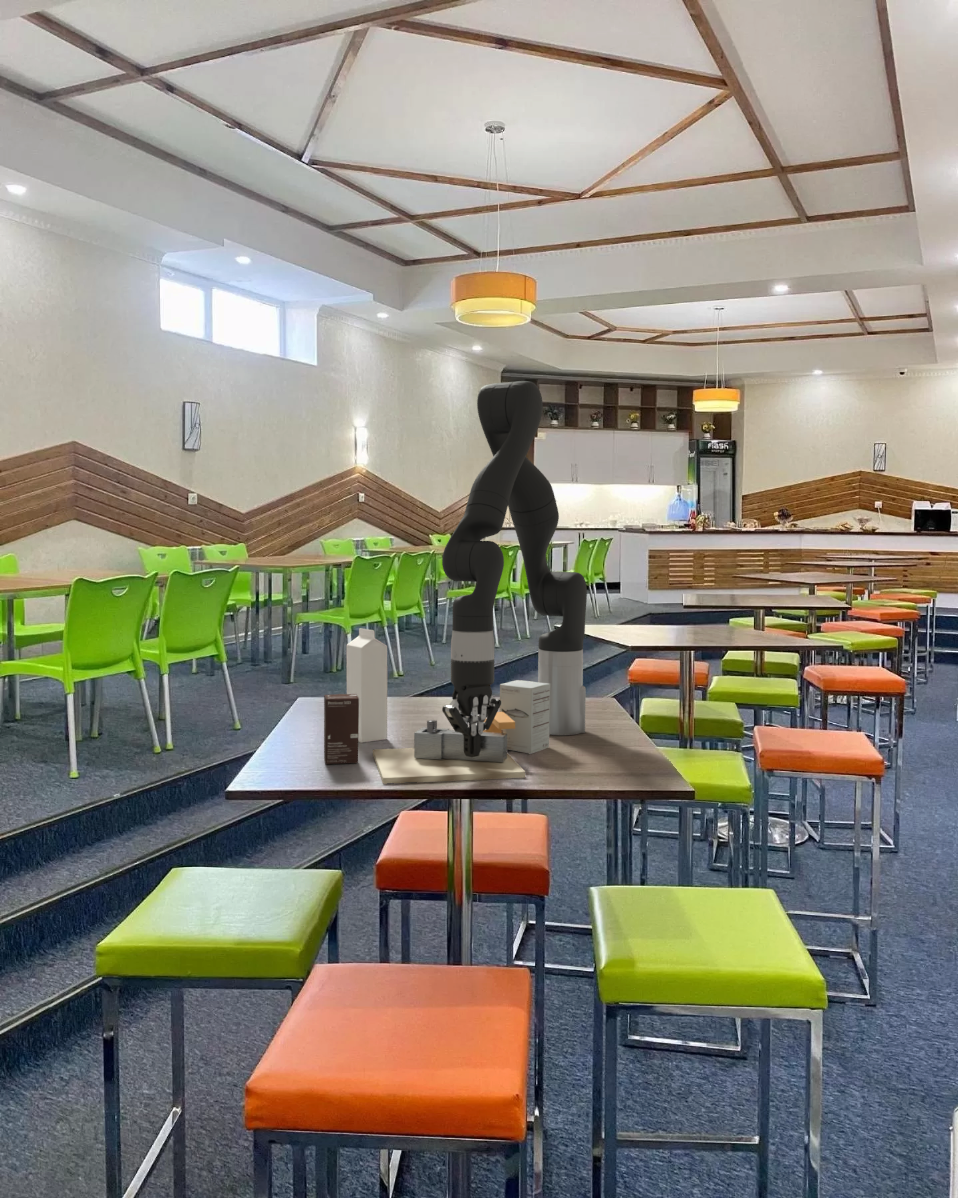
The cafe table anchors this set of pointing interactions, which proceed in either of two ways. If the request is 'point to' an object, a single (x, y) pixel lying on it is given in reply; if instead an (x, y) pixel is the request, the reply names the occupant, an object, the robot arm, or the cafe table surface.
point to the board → (439, 768)
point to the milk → (368, 684)
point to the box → (341, 728)
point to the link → (458, 745)
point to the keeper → (501, 723)
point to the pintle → (431, 728)
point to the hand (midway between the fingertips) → (472, 756)
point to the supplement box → (526, 715)
